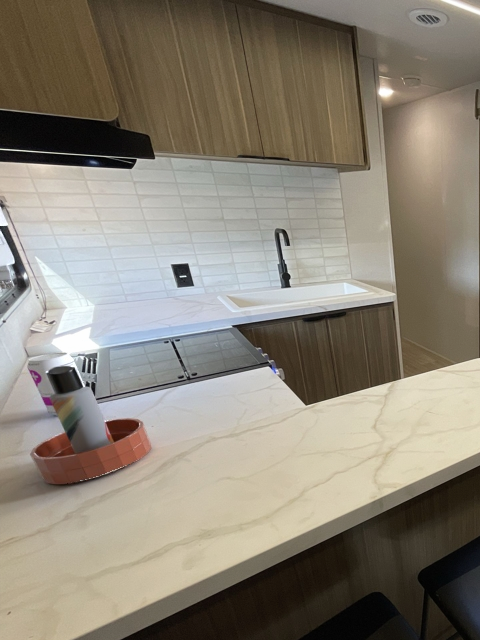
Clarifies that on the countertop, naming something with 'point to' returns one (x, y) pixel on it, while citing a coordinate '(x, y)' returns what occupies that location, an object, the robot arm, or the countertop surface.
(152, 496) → the countertop surface
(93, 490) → the countertop surface
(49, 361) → the supplement can
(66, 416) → the lotion bottle
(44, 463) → the bowl
